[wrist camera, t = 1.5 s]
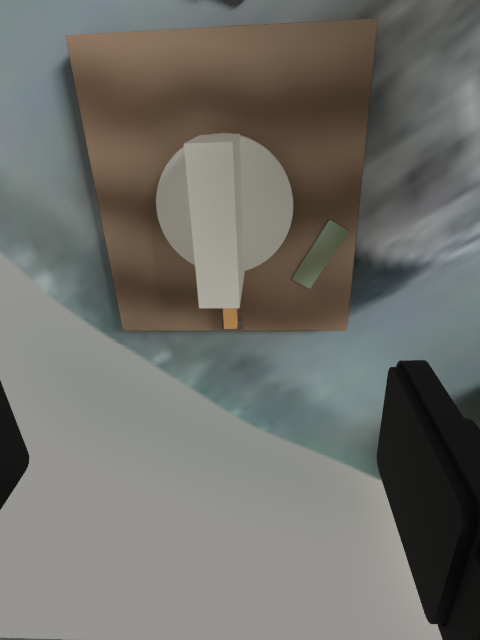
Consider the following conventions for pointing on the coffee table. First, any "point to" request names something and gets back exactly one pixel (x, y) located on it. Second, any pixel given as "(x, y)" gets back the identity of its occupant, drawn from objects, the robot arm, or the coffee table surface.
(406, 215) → the coffee table surface
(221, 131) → the dial board
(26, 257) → the coffee table surface
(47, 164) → the coffee table surface
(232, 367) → the coffee table surface
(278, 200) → the dial knob
